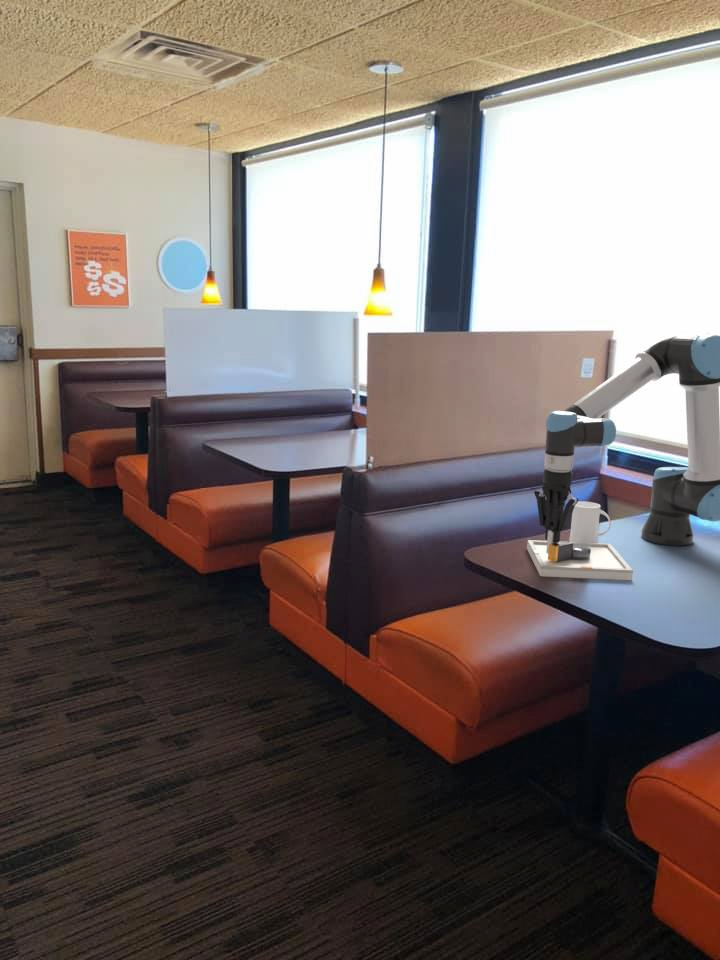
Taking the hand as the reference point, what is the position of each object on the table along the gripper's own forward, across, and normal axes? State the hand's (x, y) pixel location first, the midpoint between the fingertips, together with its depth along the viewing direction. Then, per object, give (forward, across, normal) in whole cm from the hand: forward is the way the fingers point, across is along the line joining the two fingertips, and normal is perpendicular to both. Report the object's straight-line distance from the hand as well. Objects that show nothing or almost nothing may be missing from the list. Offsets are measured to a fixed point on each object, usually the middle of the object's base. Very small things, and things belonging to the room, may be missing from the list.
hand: (551, 552), depth 211 cm
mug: (+5, -6, +28) cm, 29 cm away
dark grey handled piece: (+1, +3, +4) cm, 5 cm away
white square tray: (+4, +3, +8) cm, 9 cm away
